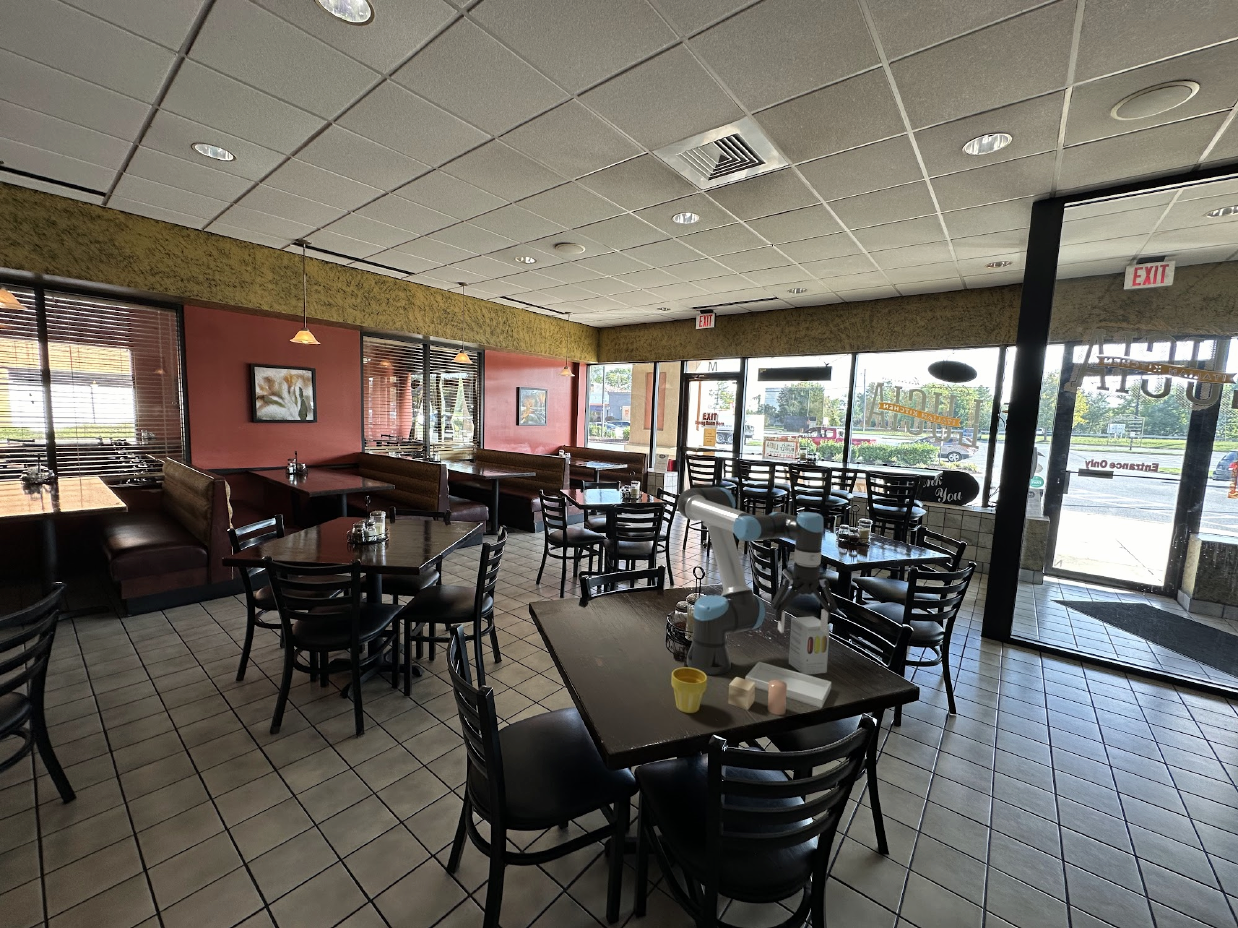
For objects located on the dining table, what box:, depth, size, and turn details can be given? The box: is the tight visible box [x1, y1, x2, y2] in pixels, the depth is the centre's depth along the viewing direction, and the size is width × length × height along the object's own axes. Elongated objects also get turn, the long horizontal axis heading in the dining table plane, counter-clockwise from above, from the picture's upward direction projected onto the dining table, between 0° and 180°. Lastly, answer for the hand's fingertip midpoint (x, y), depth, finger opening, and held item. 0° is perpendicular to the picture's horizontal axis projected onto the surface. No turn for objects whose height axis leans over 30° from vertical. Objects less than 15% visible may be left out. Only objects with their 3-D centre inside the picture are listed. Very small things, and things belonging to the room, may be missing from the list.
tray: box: [744, 661, 832, 709], centre depth 163 cm, size 24×14×3 cm, turn 57°
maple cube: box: [727, 676, 756, 711], centre depth 152 cm, size 6×6×6 cm
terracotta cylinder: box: [767, 680, 787, 716], centre depth 149 cm, size 5×5×8 cm
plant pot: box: [670, 666, 708, 714], centre depth 149 cm, size 10×10×10 cm
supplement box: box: [788, 615, 831, 675], centre depth 176 cm, size 10×9×17 cm
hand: (802, 631), depth 156 cm, fingers open, 13 cm apart
